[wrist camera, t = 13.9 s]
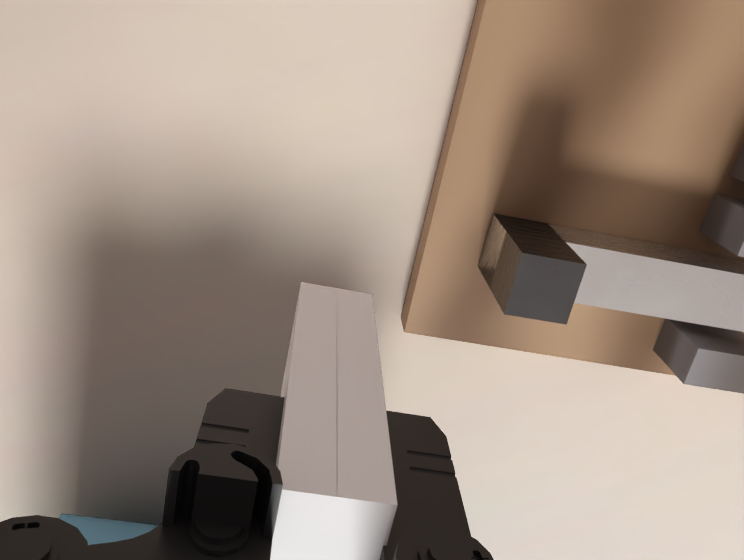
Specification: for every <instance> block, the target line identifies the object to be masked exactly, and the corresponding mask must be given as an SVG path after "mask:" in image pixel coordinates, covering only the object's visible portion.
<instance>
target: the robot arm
mask: <svg viewBox="0 0 744 560" xmlns="http://www.w3.org/2000/svg"><path fill="white" fill-rule="evenodd" d="M0 560H493V558H492V556H491V554H490V552H489V551H488V550H486V549H485V548H484V547H483V546H482V545H481V544H480V543H479V542H478V541H477V540H476V539H474V538H472V537H471V534H470V530H469V526H468V522H467V518H466V514H465V510H464V506H463V502H462V498H461V494H460V490H459V486H458V482H457V478H456V477H455V470H454V466H453V462H452V460H451V454H450V450H449V446H448V442H447V438H446V436H445V434H444V433H443V432H442V431H441V430H440V428H439V427H438V426H437V425H436V424H435V422H434V421H433V420H432V419H431V418H430V417H425V416H418V415H412V414H405V413H398V412H392V411H386V405H385V397H384V388H383V380H382V372H381V363H380V355H379V347H378V338H377V330H376V322H375V313H374V305H373V296H372V294H369V293H363V292H357V291H351V290H346V289H340V288H334V287H328V286H322V285H316V284H311V283H305V282H301V285H300V290H299V296H298V301H297V307H296V312H295V318H294V323H293V329H292V334H291V340H290V345H289V350H288V356H287V361H286V367H285V372H284V378H283V383H282V389H281V394H280V397H279V396H272V395H266V394H259V393H253V392H246V391H239V390H233V389H226V388H225V389H224V390H223V391H222V392H221V393H219V394H218V395H217V396H216V397H215V398H213V399H212V400H211V401H210V402H209V403H208V404H207V408H206V411H205V414H204V417H203V420H202V424H201V427H200V430H199V433H198V436H197V440H196V443H195V446H194V448H192V449H191V450H189V451H187V452H185V453H184V454H182V455H180V456H179V457H177V459H176V460H175V462H174V463H173V465H172V466H171V467H170V469H169V473H168V481H167V490H166V498H165V506H164V515H163V523H162V524H160V525H159V526H157V527H156V528H154V529H152V530H151V531H149V532H147V533H145V534H142V535H140V536H137V537H134V538H131V539H126V540H121V541H116V542H109V543H100V544H92V545H88V541H87V540H86V539H85V537H84V536H83V535H82V533H81V532H80V531H79V529H78V528H77V527H75V526H73V525H71V524H69V523H67V522H65V521H63V520H61V519H58V518H52V517H45V516H39V515H35V516H25V517H16V518H11V519H8V520H5V521H2V522H0Z"/></svg>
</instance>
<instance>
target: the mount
mask: <svg viewBox="0 0 744 560" xmlns="http://www.w3.org/2000/svg"><path fill="white" fill-rule="evenodd" d="M493 213H495V214H500V215H506V216H511V217H517V218H522V219H527V220H533V221H538V222H544V223H549V224H554V225H560V226H565V227H570V228H576V229H581V230H587V231H592V232H597V233H603V234H608V235H614V236H619V237H624V238H630V239H635V240H640V241H646V242H651V243H657V244H662V245H667V246H673V247H678V248H684V249H689V250H694V251H700V252H705V253H710V254H716V255H721V256H727V257H732V258H737V259H743V260H744V0H478V3H477V7H476V11H475V15H474V20H473V24H472V28H471V32H470V36H469V40H468V44H467V48H466V53H465V57H464V61H463V65H462V69H461V73H460V77H459V81H458V85H457V90H456V94H455V98H454V102H453V106H452V110H451V114H450V118H449V122H448V127H447V131H446V135H445V139H444V143H443V147H442V151H441V155H440V159H439V164H438V168H437V172H436V176H435V180H434V184H433V188H432V192H431V196H430V201H429V205H428V209H427V213H426V217H425V221H424V225H423V229H422V234H421V238H420V242H419V246H418V250H417V254H416V258H415V262H414V266H413V271H412V275H411V279H410V283H409V287H408V291H407V295H406V299H405V303H404V308H403V312H402V316H401V320H402V325H403V329H404V332H407V333H413V334H419V335H426V336H432V337H438V338H444V339H451V340H457V341H463V342H469V343H476V344H482V345H488V346H495V347H501V348H507V349H513V350H520V351H526V352H532V353H538V354H545V355H551V356H557V357H563V358H570V359H576V360H582V361H588V362H595V363H601V364H607V365H613V366H620V367H626V368H632V369H638V370H645V371H651V372H657V373H663V374H670V375H676V376H677V377H678V378H679V379H680V380H681V381H682V383H683V384H688V385H694V386H700V387H707V388H713V389H719V390H725V391H732V392H738V393H744V332H742V331H736V330H730V329H724V328H718V327H712V326H706V325H701V324H695V323H689V322H683V321H677V320H671V319H665V318H660V317H654V316H648V315H642V314H636V313H630V312H624V311H619V310H613V309H607V308H601V307H595V306H589V305H584V304H578V303H574V304H573V307H572V310H571V313H570V316H569V319H568V322H567V325H565V324H559V323H553V322H547V321H541V320H535V319H529V318H523V317H517V316H511V315H505V314H504V313H503V311H502V310H501V308H500V306H499V304H498V302H497V301H496V299H495V297H494V295H493V293H492V291H491V290H490V288H489V286H488V284H487V282H486V281H485V279H484V277H483V275H482V273H481V271H480V270H479V268H478V264H479V260H480V257H481V253H482V249H483V246H484V242H485V239H486V235H487V232H488V228H489V224H490V221H491V217H492V214H493Z"/></svg>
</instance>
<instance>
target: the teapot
mask: <svg viewBox="0 0 744 560" xmlns="http://www.w3.org/2000/svg"><path fill="white" fill-rule="evenodd" d="M59 519H61V520H63V521H65V522H67V523H69V524H71V525H73V526H75V527H77V528H78V529H79V531H80V532H81V533H82V535H83V536H84V537H85V539H86V540H87V541H88V545H92V544H100V543H109V542H116V541H121V540H126V539H131V538H134V537H137V536H140V535H142V534H145V533H147V532H149V531H151V530H152V529H154V528H156V527H157V526H159V525H153V524H145V523H137V522H128V521H120V520H112V519H104V518H95V517H87V516H78V515H70V514H61V516H60V518H59Z"/></svg>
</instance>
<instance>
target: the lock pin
mask: <svg viewBox="0 0 744 560" xmlns="http://www.w3.org/2000/svg"><path fill="white" fill-rule="evenodd" d="M478 268H479V270H480V271H481V273H482V275H483V277H484V279H485V281H486V282H487V284H488V286H489V288H490V290H491V291H492V293H493V295H494V297H495V299H496V301H497V302H498V304H499V306H500V308H501V310H502V311H503V313H504V314H505V315H511V316H517V317H523V318H529V319H535V320H541V321H547V322H553V323H559V324H565V325H567V322H568V319H569V316H570V313H571V310H572V307H573V304H574V303H578V304H584V305H589V306H595V307H601V308H607V309H613V310H619V311H624V312H630V313H636V314H642V315H648V316H654V317H660V318H665V319H671V320H677V321H683V322H689V323H695V324H701V325H706V326H712V327H718V328H724V329H730V330H736V331H742V332H744V260H743V259H737V258H732V257H727V256H721V255H716V254H710V253H705V252H700V251H694V250H689V249H684V248H678V247H673V246H667V245H662V244H657V243H651V242H646V241H640V240H635V239H630V238H624V237H619V236H614V235H608V234H603V233H597V232H592V231H587V230H581V229H576V228H570V227H565V226H560V225H554V224H549V223H544V222H538V221H533V220H527V219H522V218H517V217H511V216H506V215H500V214H495V213H493V214H492V217H491V221H490V224H489V228H488V232H487V235H486V239H485V242H484V246H483V249H482V253H481V257H480V260H479V264H478Z"/></svg>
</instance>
